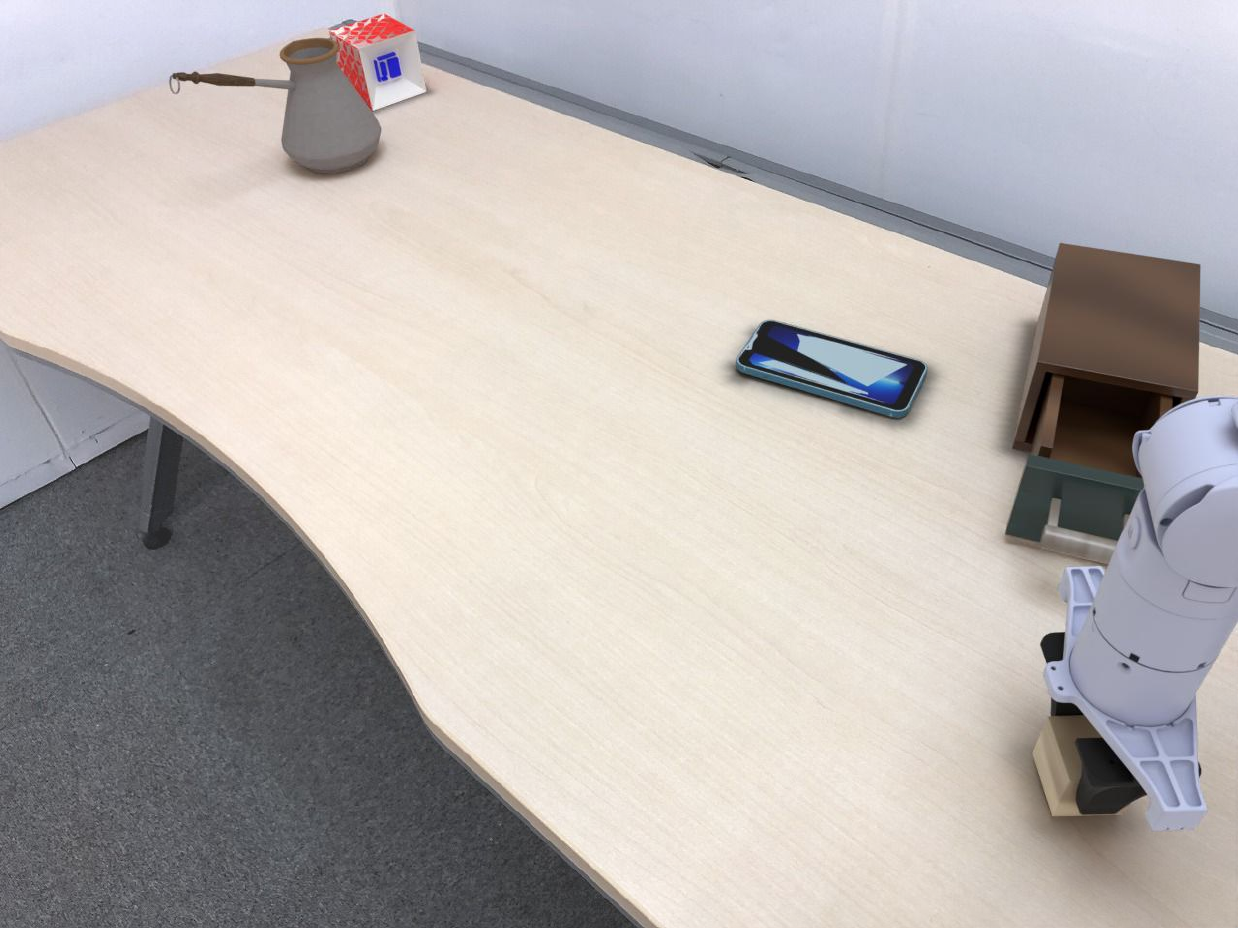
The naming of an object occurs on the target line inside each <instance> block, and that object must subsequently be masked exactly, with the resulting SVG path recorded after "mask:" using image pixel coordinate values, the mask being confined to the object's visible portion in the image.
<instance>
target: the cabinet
mask: <svg viewBox="0 0 1238 928" xmlns="http://www.w3.org/2000/svg"><path fill="white" fill-rule="evenodd" d="M1201 268H1202V266H1201V264H1200V263H1196V262H1195V263H1194V262H1189V261H1182V260H1176V259H1169V258H1161V257H1155V256H1150V255H1142V254H1136V253H1129V252H1124V251H1123V252H1122V251H1118V250H1117V251H1116V250H1110V249H1103V248H1096V247H1089V246H1083V245H1077V244H1071V243H1065V242H1064V243H1063V242H1060V243H1059V244H1058V247H1057V251H1056V255H1055V258H1054V262H1053V266H1052V269H1051V272H1050V275H1049V280H1048V283H1047V287H1046V290H1045V294H1044V297H1043V301H1042V305H1041V308H1040V312H1039V315H1038V319H1037V322H1036V325H1035V330H1034V335H1033V341H1032V345H1031V351H1030V355H1029V361H1028V365H1027V370H1026V375H1025V379H1024V380H1025V381H1024V384H1023V391H1022V394H1021V400H1020V406H1019V410H1018V416H1017V420H1016V425H1015V431H1014V436H1013V440H1012V446H1011V448H1012V449H1013V450H1019V451H1022V452H1027V453H1031V448H1032V442H1033V437H1034V431H1035V426H1036V420H1037V415H1038V409H1039V404H1040V398H1041V395H1042V392H1043V388H1044V385H1045V382H1046V378H1047V375H1048V372H1050V373H1055V374H1060V375H1066V376H1071V377H1076V378H1081V379H1087V380H1092V381H1097V382H1102V383H1108V384H1113V385H1118V386H1123V387H1129V388H1134V389H1139V390H1144V391H1150V392H1155V393H1160V394H1166V395H1171V396H1173V403H1172V408H1174V407H1176V406H1178V405H1180V404H1182V403H1184V402H1187V401H1190V400H1193V399H1196V398H1197V396H1198V393H1199V382H1200V381H1199V379H1200V378H1199V377H1200V376H1199V375H1200V325H1201V324H1200V323H1201V321H1200V320H1201V318H1200V317H1201V271H1202V269H1201Z"/></svg>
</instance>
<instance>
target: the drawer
mask: <svg viewBox="0 0 1238 928" xmlns="http://www.w3.org/2000/svg"><path fill="white" fill-rule="evenodd" d="M1172 403H1173V396H1171V395H1166V394H1160V393H1155V392H1150V391H1144V390H1139V389H1134V388H1129V387H1123V386H1118V385H1113V384H1108V383H1102V382H1097V381H1092V380H1087V379H1081V378H1076V377H1071V376H1066V375H1060V374H1055V373H1050V372H1048V375H1047V378H1046V382H1045V385H1044V388H1043V392H1042V395H1041V398H1040V404H1039V409H1038V415H1037V420H1036V426H1035V431H1034V437H1033V442H1032V448H1031V452H1030V453H1028V454H1027V456H1026V459H1025V463H1024V466H1023V469H1022V471H1021V472H1022V473H1021V474H1020V475H1021V476H1020V478H1019V482H1018V485H1017V488H1016V492H1015V495H1014V498H1013V501H1012V505H1011V509H1010V512H1009V515H1008V518H1007V521H1006V525H1005V532H1004V536H1009V537H1014V538H1017V539H1023V540H1025V541H1030V542H1035V543H1039V549H1042V550H1046V551H1050V552H1055V553H1058V554H1063V555H1068V556H1071V557H1075V558H1080V559H1084V560H1087V561H1091V562H1096V563H1101V564H1105V565H1108V564H1109V562H1110V559H1111V557H1112V555H1113V552H1114V550H1115V548H1116V545H1117V543H1118V540H1119V538H1120V536H1121V534H1122V532H1123V530H1124V528H1125V526H1126V524H1127V521H1128V519H1129V516H1130V514H1131V512H1132V509H1133V507H1134V504H1135V502H1136V500H1137V497H1138V495H1139V493H1140V492H1141V491H1142V490H1143V488H1144V482H1143V478H1142V475H1141V474H1140V473H1139V471H1138V469H1137V467H1136V464H1135V461H1134V456H1133V451H1132V445H1133V439H1134V435H1135V433H1136V432H1138V431H1147V430H1150V429H1151V428H1152V427H1153V426H1154V425H1155V423H1156V422H1157V421H1158V420H1159V419H1160V418H1161V417H1162V416H1163V415H1164V414H1165V413H1167V412H1168V411H1169V410H1171V409H1172Z"/></svg>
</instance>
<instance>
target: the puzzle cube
mask: <svg viewBox="0 0 1238 928" xmlns="http://www.w3.org/2000/svg"><path fill="white" fill-rule="evenodd" d="M328 34H329V39H331V40H334V41H336V42H337V43H338V45H339V50H338V52H337V53H336V56H337V64H338V66H339V67H340V69H341V70H342V71H343V73H344V74H345V75H346V77H347V78H348V80H349V81H350V82H351V84H352V85H353V86H354V88H355V89H356V91H357V92H358V93H359V95H360V96H361V97H362V99H363V100H364V102H365V103H366V104H367V106H368V107H369V108H370V110H371V111H372V112H374V111H378V110H381V109H383V108H386V107H388V106H391V105H395V104H397V103H399V102H402V101H405V100H408V99H411V98H414V97H416V96H419V95H422V94H424V93H427V92H428V91H427V84H426V81H425V76H424V75H425V74H424V71H423V65H422V60H421V55H420V49H419V44H418V37H417V33H416V30H415V29H413V28H412V27H411V26H408V25H407V24H404V23H403V22H401V21H399V20H397V19H395V18H393V17H392V16H389V15H388V14H386V13H382V14H378V15H374V16H372V17H368V18H366V19H363V20H359V21H356V22H353V23H350V24H347V25H344V26H340V27H337V28H333V29H330V30H328Z"/></svg>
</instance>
